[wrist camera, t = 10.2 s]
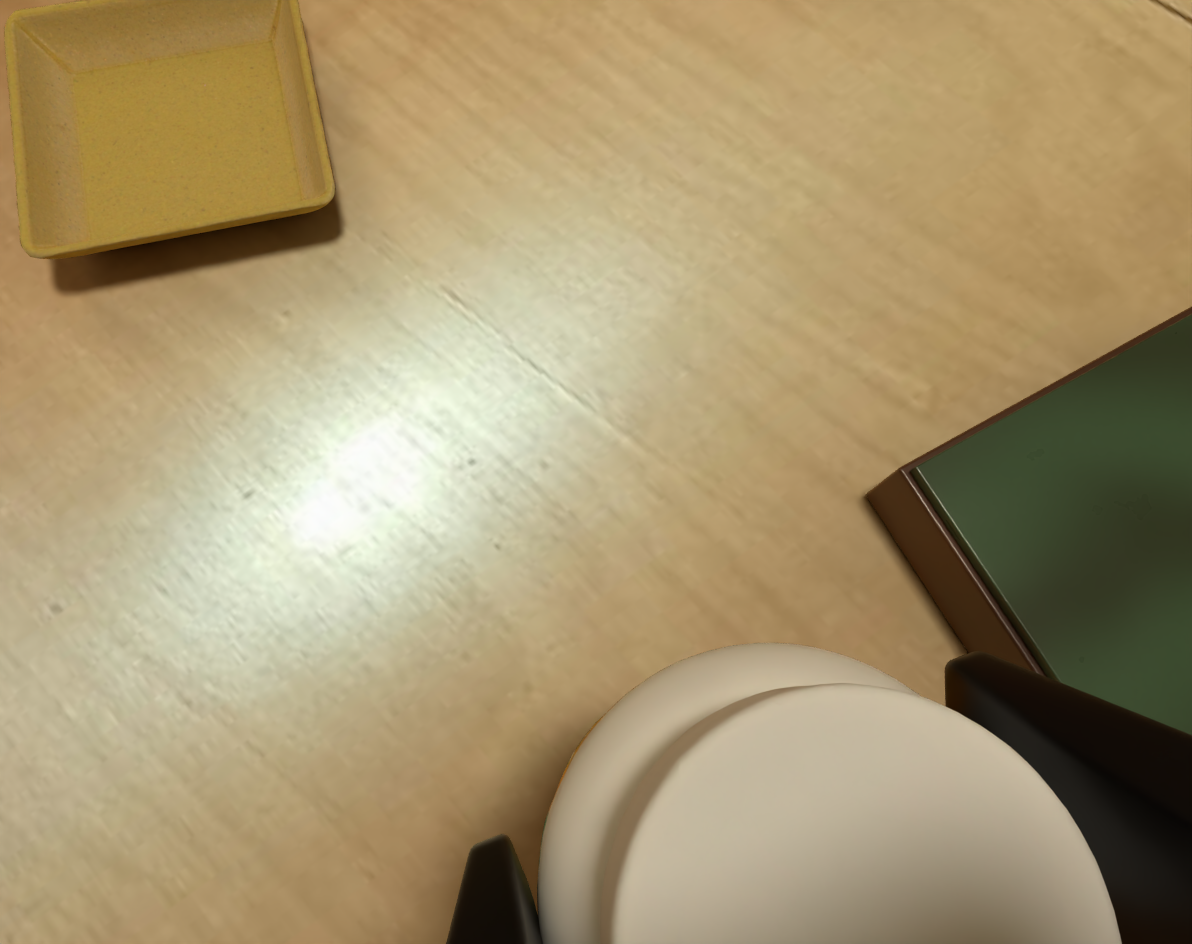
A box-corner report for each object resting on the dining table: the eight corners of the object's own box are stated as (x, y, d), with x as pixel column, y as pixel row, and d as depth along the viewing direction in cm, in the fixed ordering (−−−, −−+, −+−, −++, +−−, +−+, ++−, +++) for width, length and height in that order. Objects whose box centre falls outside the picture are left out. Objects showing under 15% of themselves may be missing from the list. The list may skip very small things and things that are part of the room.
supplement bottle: (901, 891, 15) (1386, 1108, 6) (646, 1066, 15) (779, 1619, 5) (740, 628, 17) (948, 493, 8) (495, 774, 16) (399, 819, 7)
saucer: (310, 17, 29) (291, -37, 27) (354, 239, 26) (337, 198, 24) (41, 62, 28) (0, 10, 26) (62, 296, 26) (19, 259, 24)
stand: (1410, 651, 24) (1525, 640, 21) (1102, 860, 22) (1183, 879, 19) (1158, 331, 27) (1230, 283, 24) (864, 494, 25) (903, 463, 22)
